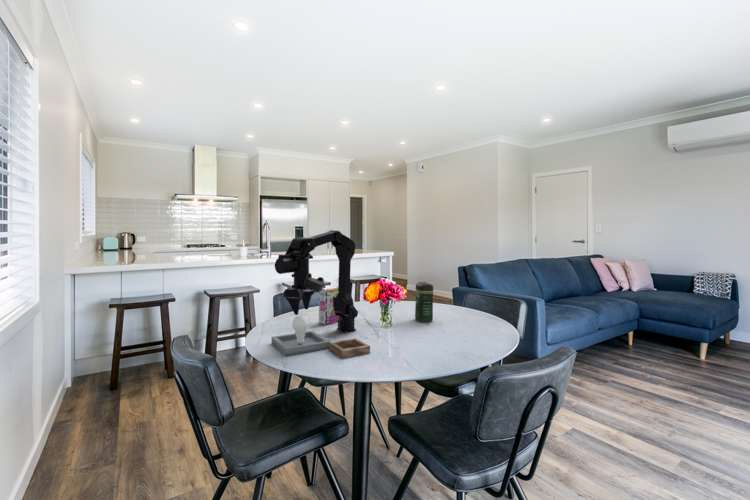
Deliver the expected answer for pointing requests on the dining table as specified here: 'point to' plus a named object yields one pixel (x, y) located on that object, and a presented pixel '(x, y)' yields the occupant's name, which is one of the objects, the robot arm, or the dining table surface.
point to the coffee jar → (424, 302)
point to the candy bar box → (327, 306)
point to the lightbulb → (300, 327)
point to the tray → (291, 347)
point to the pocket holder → (358, 350)
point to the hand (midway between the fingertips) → (301, 312)
